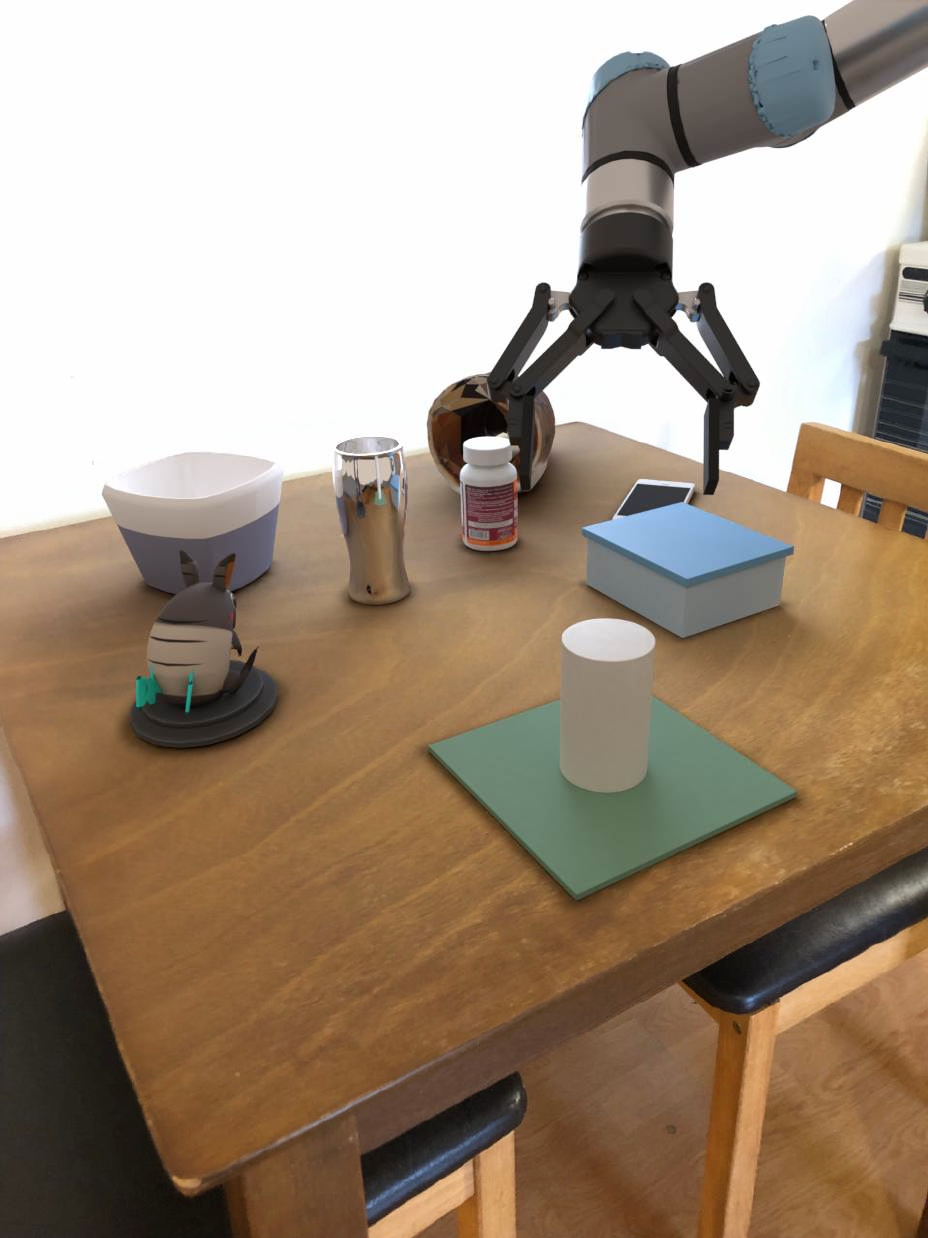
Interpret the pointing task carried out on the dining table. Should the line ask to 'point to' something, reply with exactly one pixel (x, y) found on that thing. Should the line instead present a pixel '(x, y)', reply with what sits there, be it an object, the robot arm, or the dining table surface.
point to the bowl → (198, 515)
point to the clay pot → (481, 427)
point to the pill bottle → (488, 494)
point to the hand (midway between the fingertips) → (616, 486)
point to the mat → (608, 795)
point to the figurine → (199, 668)
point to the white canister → (606, 703)
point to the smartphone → (654, 496)
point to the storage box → (685, 567)
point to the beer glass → (373, 515)
